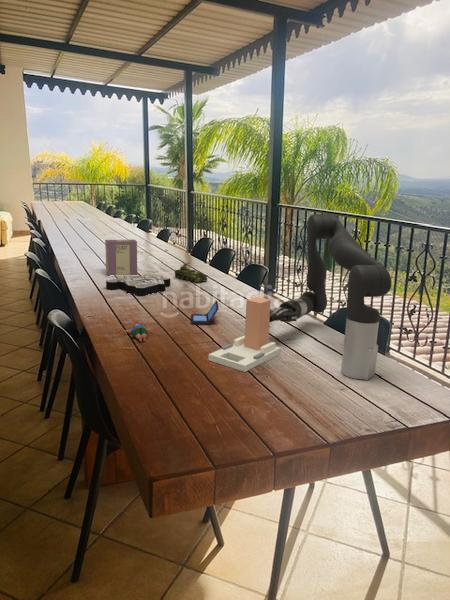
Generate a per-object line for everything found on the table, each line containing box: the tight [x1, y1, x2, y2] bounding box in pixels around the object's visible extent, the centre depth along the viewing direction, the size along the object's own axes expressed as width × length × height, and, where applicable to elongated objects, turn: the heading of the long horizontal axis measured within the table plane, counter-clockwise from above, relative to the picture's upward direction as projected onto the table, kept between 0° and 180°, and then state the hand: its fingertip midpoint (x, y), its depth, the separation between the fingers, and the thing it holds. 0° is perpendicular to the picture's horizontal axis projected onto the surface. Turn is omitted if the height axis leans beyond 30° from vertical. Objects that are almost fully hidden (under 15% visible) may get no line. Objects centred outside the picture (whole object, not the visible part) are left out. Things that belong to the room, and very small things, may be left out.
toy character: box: [120, 321, 156, 343], centre depth 166 cm, size 12×5×15 cm
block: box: [244, 296, 272, 350], centre depth 152 cm, size 6×6×16 cm
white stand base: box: [208, 334, 282, 373], centre depth 150 cm, size 14×21×4 cm, turn 143°
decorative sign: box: [105, 274, 171, 297], centre depth 240 cm, size 28×4×30 cm
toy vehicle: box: [174, 262, 208, 283], centre depth 263 cm, size 9×20×10 cm, turn 48°
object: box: [190, 300, 220, 326], centre depth 187 cm, size 12×11×7 cm
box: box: [104, 239, 138, 277], centre depth 269 cm, size 17×9×20 cm, turn 111°
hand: (268, 319), depth 157 cm, fingers closed
